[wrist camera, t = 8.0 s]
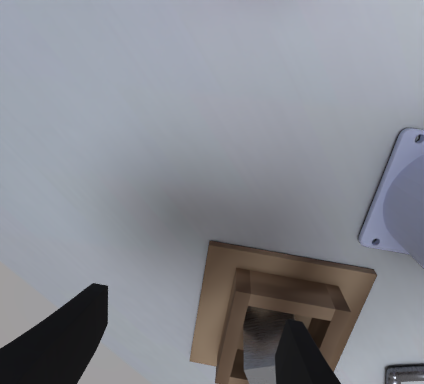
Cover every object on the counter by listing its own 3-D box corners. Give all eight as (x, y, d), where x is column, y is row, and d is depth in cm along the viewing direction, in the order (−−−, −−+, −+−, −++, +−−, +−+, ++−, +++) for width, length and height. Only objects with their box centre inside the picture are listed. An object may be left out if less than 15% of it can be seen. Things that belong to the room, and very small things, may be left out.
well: (373, 269, 20) (395, 300, 17) (324, 380, 25) (335, 419, 22) (209, 240, 21) (204, 266, 18) (190, 354, 25) (184, 390, 22)
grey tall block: (288, 293, 21) (303, 361, 16) (302, 342, 23) (320, 418, 18) (242, 302, 22) (243, 370, 17) (259, 348, 23) (265, 423, 18)
